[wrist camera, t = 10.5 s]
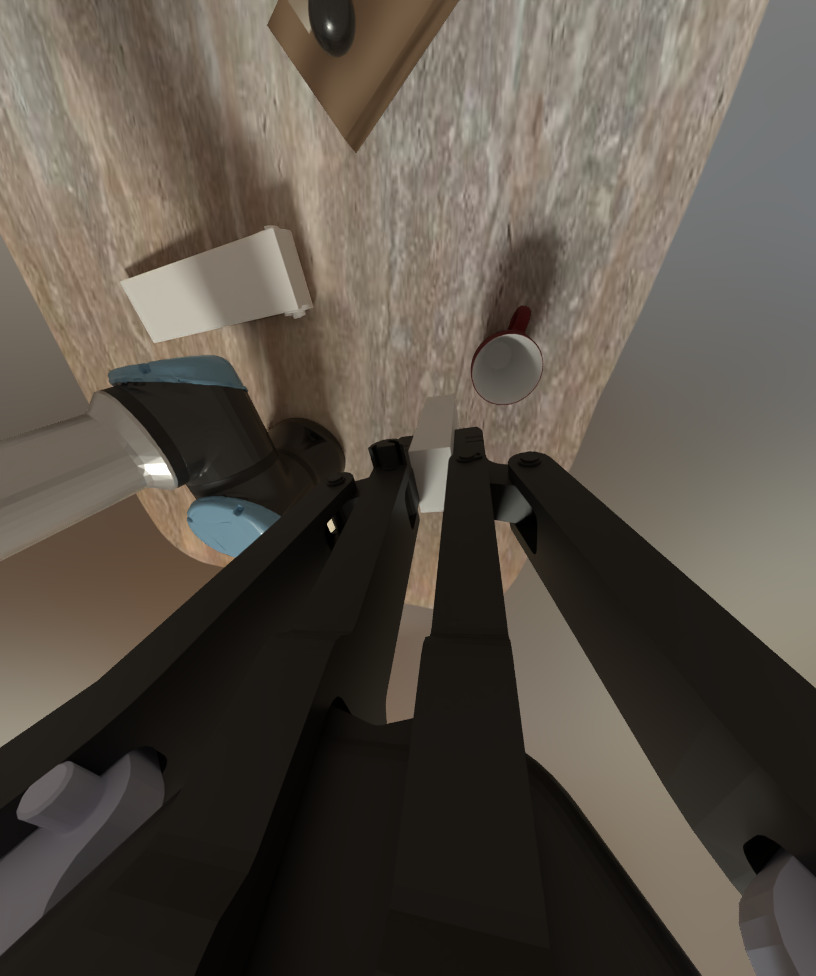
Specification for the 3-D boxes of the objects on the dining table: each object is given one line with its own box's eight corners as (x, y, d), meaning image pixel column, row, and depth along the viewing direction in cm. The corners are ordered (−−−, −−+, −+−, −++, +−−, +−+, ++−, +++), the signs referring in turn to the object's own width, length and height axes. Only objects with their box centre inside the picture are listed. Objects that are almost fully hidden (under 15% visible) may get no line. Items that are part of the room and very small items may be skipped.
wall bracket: (192, 334, 55) (326, 303, 46) (162, 353, 50) (304, 322, 41) (145, 268, 48) (292, 215, 39) (105, 283, 43) (261, 226, 34)
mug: (482, 298, 41) (487, 300, 32) (543, 307, 40) (564, 312, 32) (464, 379, 46) (464, 399, 38) (517, 388, 46) (529, 410, 38)
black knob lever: (354, 32, 28) (367, 20, 21) (332, 71, 29) (337, 73, 22) (325, -19, 26) (328, -54, 18) (302, 25, 27) (297, 10, 20)
